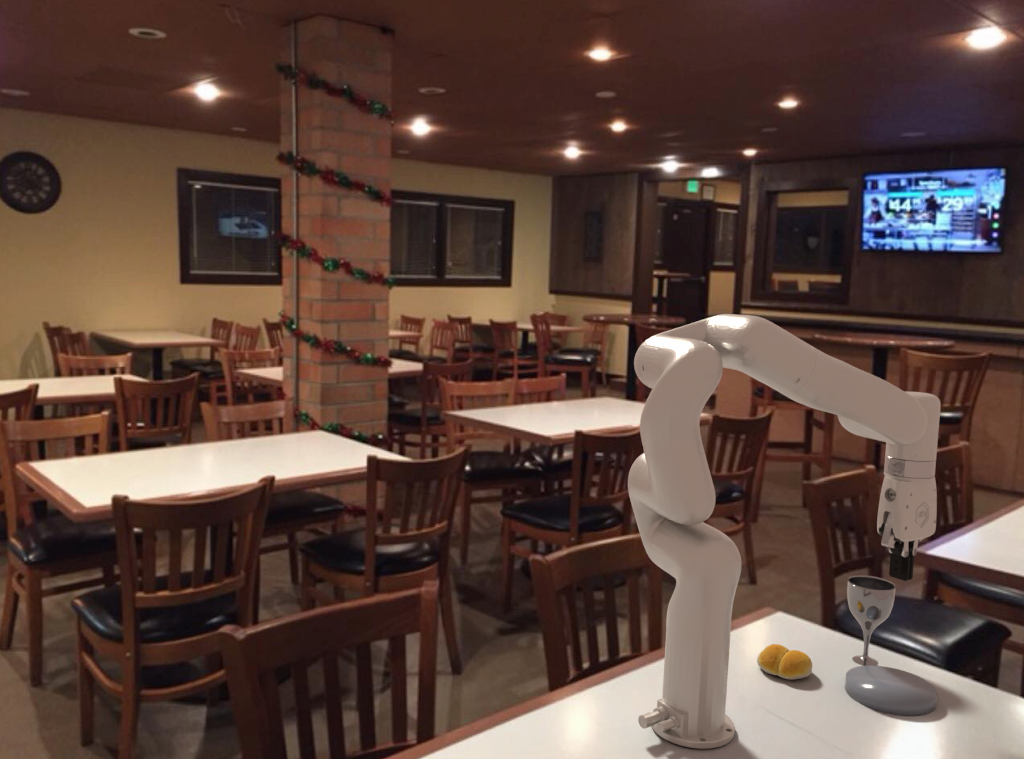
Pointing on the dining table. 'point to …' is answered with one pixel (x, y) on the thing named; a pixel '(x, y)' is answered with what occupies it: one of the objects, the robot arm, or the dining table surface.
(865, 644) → the wine glass
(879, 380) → the robot arm
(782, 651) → the bread roll
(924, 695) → the plate
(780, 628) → the dining table surface
